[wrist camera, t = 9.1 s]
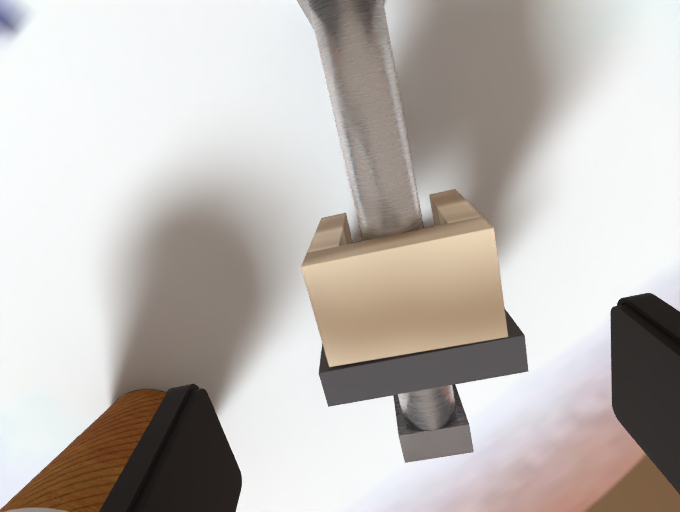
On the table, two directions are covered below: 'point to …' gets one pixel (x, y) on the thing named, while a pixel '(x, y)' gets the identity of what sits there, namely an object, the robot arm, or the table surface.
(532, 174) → the table surface
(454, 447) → the grey long flanged piece
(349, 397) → the dark grey u-shaped piece
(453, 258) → the sleeve
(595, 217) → the table surface
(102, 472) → the disposable coffee cup
